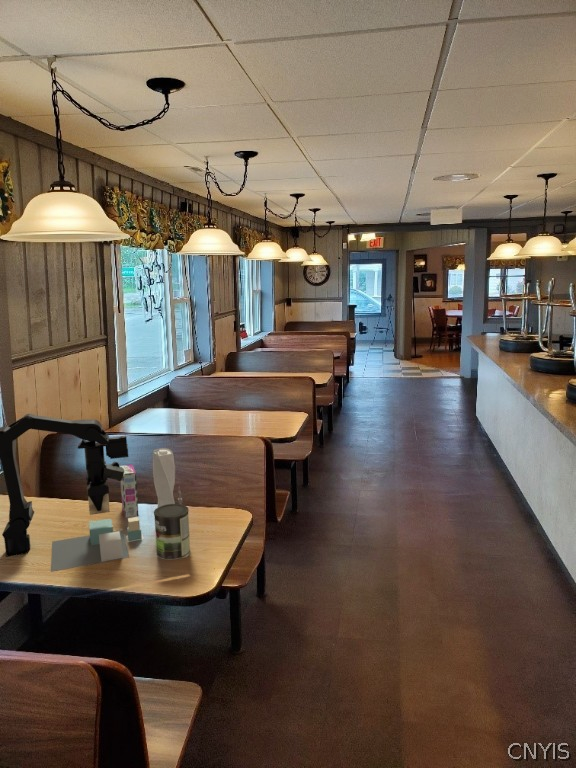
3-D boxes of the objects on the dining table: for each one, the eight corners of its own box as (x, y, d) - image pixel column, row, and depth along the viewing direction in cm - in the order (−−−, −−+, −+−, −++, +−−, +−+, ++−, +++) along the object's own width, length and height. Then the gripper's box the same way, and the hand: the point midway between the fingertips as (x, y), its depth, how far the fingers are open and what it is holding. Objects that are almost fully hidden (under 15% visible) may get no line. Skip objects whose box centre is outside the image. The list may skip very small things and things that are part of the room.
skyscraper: (174, 530, 195) (169, 450, 190) (151, 528, 197) (146, 448, 192) (184, 520, 203) (180, 442, 198) (163, 518, 205) (158, 441, 200)
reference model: (127, 543, 187) (126, 523, 185) (126, 537, 191) (124, 517, 190) (143, 540, 188) (142, 521, 187) (141, 534, 193) (140, 515, 192)
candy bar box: (139, 517, 207) (136, 472, 204) (125, 519, 205) (121, 474, 202) (135, 506, 217) (132, 463, 214) (122, 508, 216) (118, 465, 213)
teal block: (90, 545, 185) (89, 530, 184) (90, 536, 191) (88, 522, 190) (114, 541, 187) (112, 526, 186) (112, 532, 193) (111, 518, 192)
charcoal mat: (51, 573, 169) (50, 571, 169) (52, 543, 188) (52, 541, 188) (129, 559, 176) (129, 557, 176) (123, 531, 196) (123, 529, 195)
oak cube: (89, 515, 183) (88, 496, 182) (89, 508, 189) (87, 490, 188) (109, 511, 185) (108, 494, 184) (108, 505, 191) (107, 487, 190)
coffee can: (167, 565, 172) (164, 520, 170) (150, 553, 180) (147, 509, 177) (197, 554, 179) (194, 510, 176) (180, 542, 186) (177, 500, 184)
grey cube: (101, 561, 174) (99, 542, 173) (100, 552, 179) (98, 534, 178) (122, 557, 176) (121, 539, 175) (120, 549, 181) (119, 531, 180)
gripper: (124, 465, 178) (127, 513, 181) (119, 449, 195) (122, 493, 198) (85, 470, 174) (89, 519, 177) (83, 453, 192) (87, 498, 194)
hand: (98, 507), depth 187 cm, fingers closed on oak cube, 6 cm apart
